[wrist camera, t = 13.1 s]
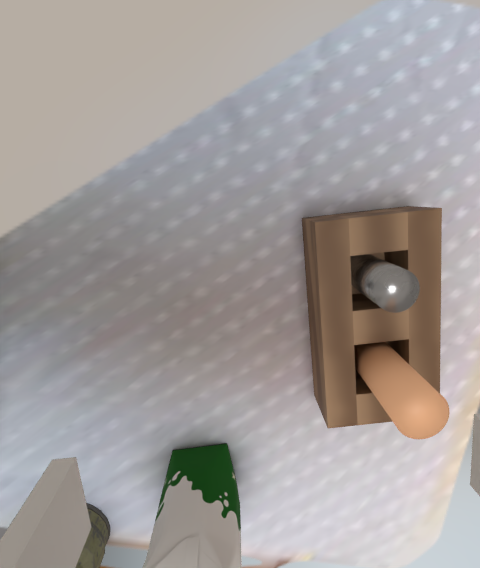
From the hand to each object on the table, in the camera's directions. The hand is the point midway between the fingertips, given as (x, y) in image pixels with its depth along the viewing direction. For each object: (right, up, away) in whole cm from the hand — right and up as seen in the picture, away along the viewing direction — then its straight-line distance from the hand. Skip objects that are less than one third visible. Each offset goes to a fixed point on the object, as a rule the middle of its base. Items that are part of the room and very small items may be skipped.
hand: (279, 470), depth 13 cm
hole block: (+13, +4, +33) cm, 35 cm away
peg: (+13, -1, +33) cm, 35 cm away
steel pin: (+12, +8, +31) cm, 34 cm away
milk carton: (-6, -18, +37) cm, 42 cm away
